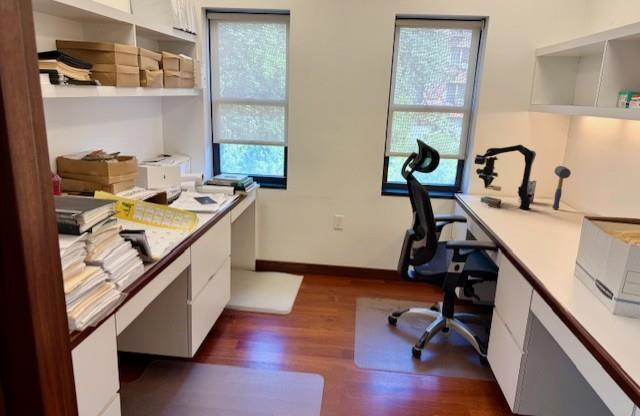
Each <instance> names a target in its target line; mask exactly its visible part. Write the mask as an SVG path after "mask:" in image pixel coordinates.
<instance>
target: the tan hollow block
mask: <svg viewBox="0 0 640 416" xmlns="http://www.w3.org/2000/svg"><path fill="white" fill-rule="evenodd" d="M498 199H499V198H497V199H490V200H489V202H488V203H487V207H491V208H495V209H497V208H500V207H501V206H502V202H503V201H502V199H501V200H498Z"/></svg>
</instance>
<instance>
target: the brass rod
mask: <svg viewBox="0 0 640 416" xmlns="http://www.w3.org/2000/svg"><path fill="white" fill-rule="evenodd" d="M483 188H484V189H486V190H492V191H497V192H500V191H501V190H502V186H498V185H492V184H490V185H488V186H487V188H486V187H485V185H484V186H483Z"/></svg>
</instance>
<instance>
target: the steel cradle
mask: <svg viewBox="0 0 640 416" xmlns="http://www.w3.org/2000/svg"><path fill="white" fill-rule="evenodd" d="M490 199H498V200H502V199H501V198H497V197H492V196H486V195H485V196H482V197H480V202H481V203H485V204H488V202H489V200H490Z"/></svg>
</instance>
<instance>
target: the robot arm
mask: <svg viewBox="0 0 640 416" xmlns="http://www.w3.org/2000/svg"><path fill="white" fill-rule="evenodd" d="M516 151H518V152H519V153H520V154H521V155H523V157H524V170H523V176H522V180H523V181H522V185H521V184H520V185H519V186H518V187H517V188H518V190H517V194H518V198H519V197H520V198H521V203H520V206H519V207H518V208H517V209H521V210H525V211H529V210H531V209H532V208H531V207H530V206H531V202H530V200H531V199H532V196H531V195H530V193H529V180H531V172H532V168H533V167H532V166H533V164H534V161H535V158H536V156H537V153H536V151H534V150H531V149H529V148H527V147H526V146H524V145H523V144H517V145H511V146H505V147H490V148H488V149H487V150H486V151H485V153H484V155H483V154H482V155H481V154H475V158H474V164H475V165H481V166H482V165H483V166H484V165H485V166H484V167H483V168H476V171H475V173H476V174H477V175H478V179H482V180H483V185H484V186H485V187H486V188H487V186H488V185H492V182H494V179H495V177H496V178H498V176H499V173H498V172H494V170H495V169H496V167H495V162H496V161H498V160H499V158H498V157H497V155H499V154H505V153H510V152H511V153H512V152H516Z"/></svg>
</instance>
